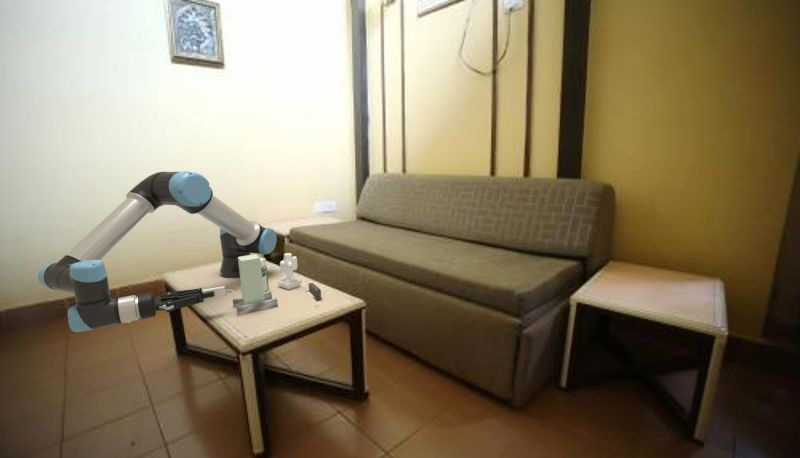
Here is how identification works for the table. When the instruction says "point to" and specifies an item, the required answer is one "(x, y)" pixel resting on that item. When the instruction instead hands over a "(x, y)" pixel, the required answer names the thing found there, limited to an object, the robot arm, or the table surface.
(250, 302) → the block
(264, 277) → the syrup box
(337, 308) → the table surface
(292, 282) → the figurine
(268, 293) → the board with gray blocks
